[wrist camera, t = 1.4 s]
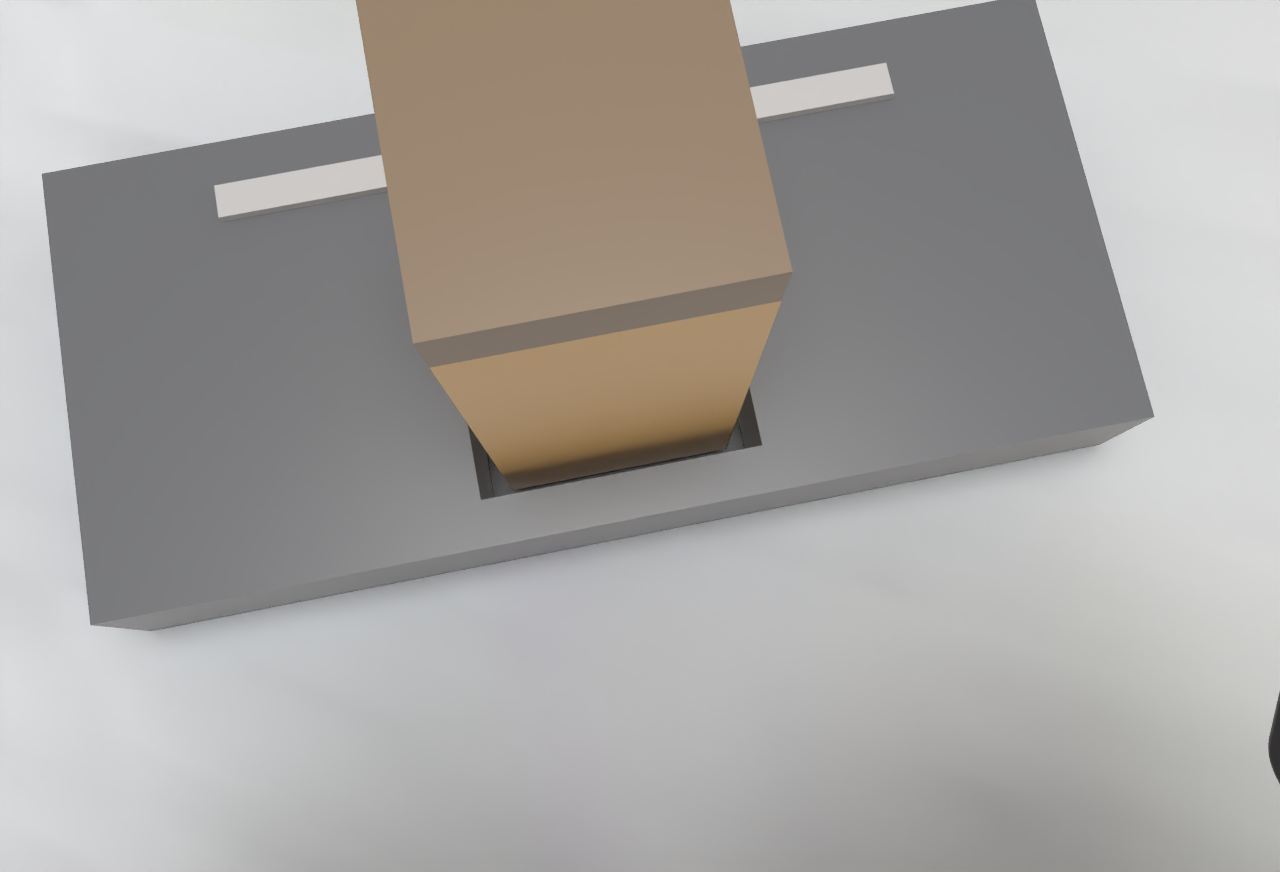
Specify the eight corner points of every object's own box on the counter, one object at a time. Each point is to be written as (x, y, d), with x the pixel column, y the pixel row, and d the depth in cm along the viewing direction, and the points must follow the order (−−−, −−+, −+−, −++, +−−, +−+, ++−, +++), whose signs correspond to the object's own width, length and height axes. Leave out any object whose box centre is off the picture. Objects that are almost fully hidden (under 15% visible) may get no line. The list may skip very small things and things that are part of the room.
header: (1099, 444, 23) (1159, 413, 20) (151, 631, 22) (85, 624, 20) (994, 62, 25) (1036, -13, 22) (103, 225, 24) (36, 169, 21)
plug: (726, 448, 22) (792, 271, 13) (512, 489, 22) (413, 343, 13) (682, 247, 23) (714, -68, 13) (476, 285, 23) (355, -4, 13)
